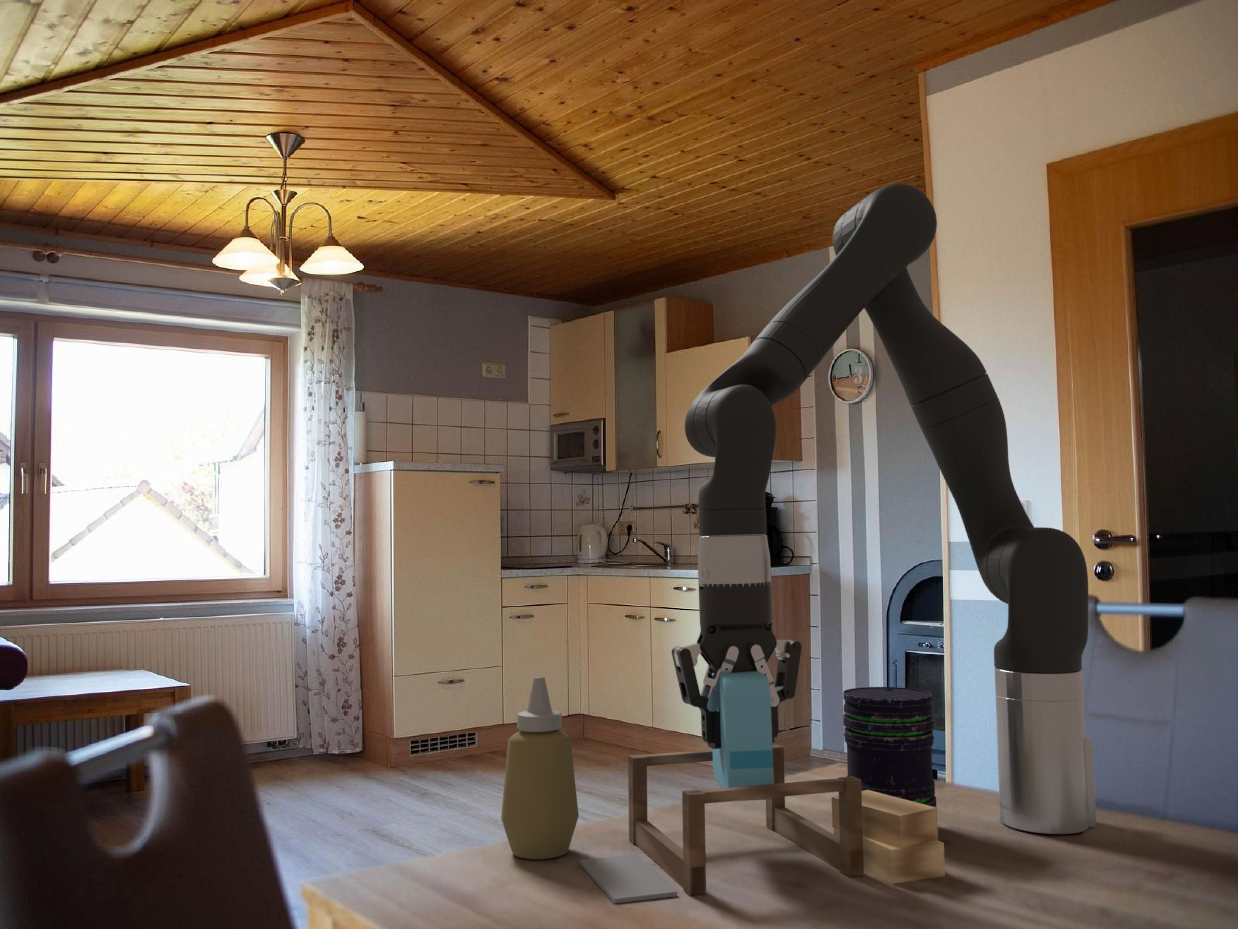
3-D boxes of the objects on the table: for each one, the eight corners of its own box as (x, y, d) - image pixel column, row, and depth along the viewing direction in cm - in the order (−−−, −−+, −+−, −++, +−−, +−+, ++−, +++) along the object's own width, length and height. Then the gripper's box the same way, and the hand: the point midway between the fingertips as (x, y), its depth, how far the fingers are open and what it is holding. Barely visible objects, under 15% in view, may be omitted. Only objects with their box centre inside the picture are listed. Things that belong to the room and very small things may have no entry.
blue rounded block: (775, 803, 100) (770, 677, 101) (728, 805, 100) (724, 679, 101) (754, 775, 112) (750, 663, 113) (713, 776, 112) (709, 664, 113)
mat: (637, 858, 105) (637, 854, 105) (677, 896, 94) (677, 891, 94) (580, 864, 104) (580, 859, 104) (614, 903, 92) (613, 899, 92)
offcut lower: (883, 851, 108) (882, 817, 108) (945, 880, 99) (943, 843, 99) (834, 858, 106) (833, 823, 106) (892, 888, 97) (890, 850, 97)
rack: (779, 825, 117) (777, 744, 118) (863, 875, 99) (861, 780, 100) (629, 840, 112) (628, 755, 112) (689, 896, 94) (688, 794, 95)
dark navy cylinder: (935, 845, 109) (931, 701, 110) (841, 837, 112) (837, 697, 113) (938, 820, 118) (934, 688, 119) (851, 814, 121) (847, 685, 122)
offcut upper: (868, 819, 108) (867, 789, 108) (937, 839, 100) (936, 807, 100) (832, 827, 105) (831, 797, 105) (901, 848, 97) (899, 816, 98)
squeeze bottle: (590, 845, 110) (588, 674, 111) (561, 868, 102) (560, 684, 104) (520, 839, 113) (520, 672, 114) (487, 860, 105) (487, 681, 106)
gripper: (781, 575, 113) (787, 733, 112) (657, 580, 109) (662, 744, 108) (813, 577, 106) (820, 745, 105) (682, 583, 102) (688, 758, 100)
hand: (740, 744), depth 106 cm, fingers closed on blue rounded block, 5 cm apart
